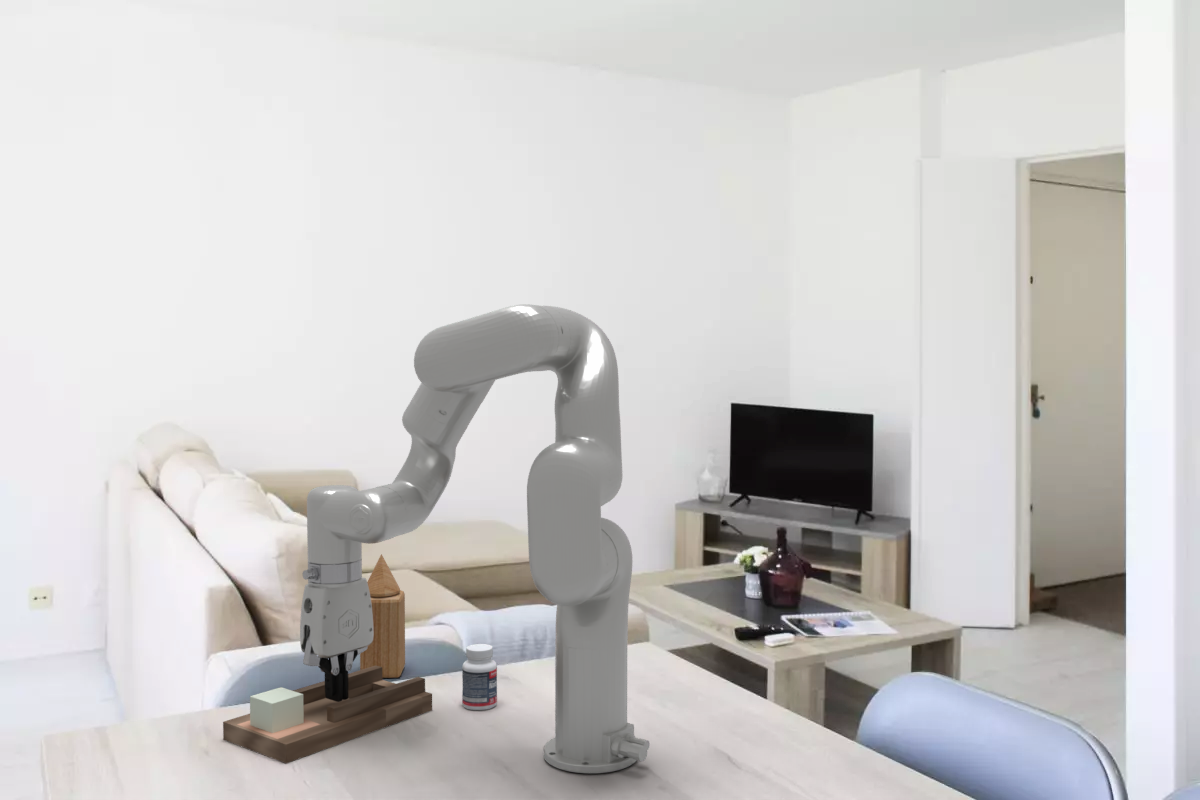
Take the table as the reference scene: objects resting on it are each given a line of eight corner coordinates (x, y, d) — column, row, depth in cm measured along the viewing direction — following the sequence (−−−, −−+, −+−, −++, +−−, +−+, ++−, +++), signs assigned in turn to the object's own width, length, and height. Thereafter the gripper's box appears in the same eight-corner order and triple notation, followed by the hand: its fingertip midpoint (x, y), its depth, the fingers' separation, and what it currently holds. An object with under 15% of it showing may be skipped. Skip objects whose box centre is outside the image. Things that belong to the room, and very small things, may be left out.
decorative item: (366, 667, 182) (365, 550, 181) (405, 666, 182) (404, 549, 181) (359, 679, 175) (358, 557, 174) (400, 678, 175) (399, 557, 175)
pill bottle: (494, 711, 160) (494, 652, 159) (459, 711, 160) (459, 652, 159) (498, 699, 165) (498, 642, 165) (465, 699, 165) (464, 642, 165)
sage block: (303, 722, 147) (303, 694, 147) (272, 733, 143) (272, 703, 143) (281, 715, 150) (280, 687, 150) (250, 725, 146) (249, 696, 146)
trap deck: (432, 710, 160) (432, 680, 160) (286, 763, 139) (285, 729, 139) (369, 691, 169) (369, 663, 168) (223, 739, 148) (222, 707, 148)
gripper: (309, 584, 145) (311, 718, 146) (392, 567, 157) (393, 690, 158) (274, 578, 150) (277, 707, 151) (358, 561, 162) (360, 681, 163)
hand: (336, 698), depth 154 cm, fingers closed
